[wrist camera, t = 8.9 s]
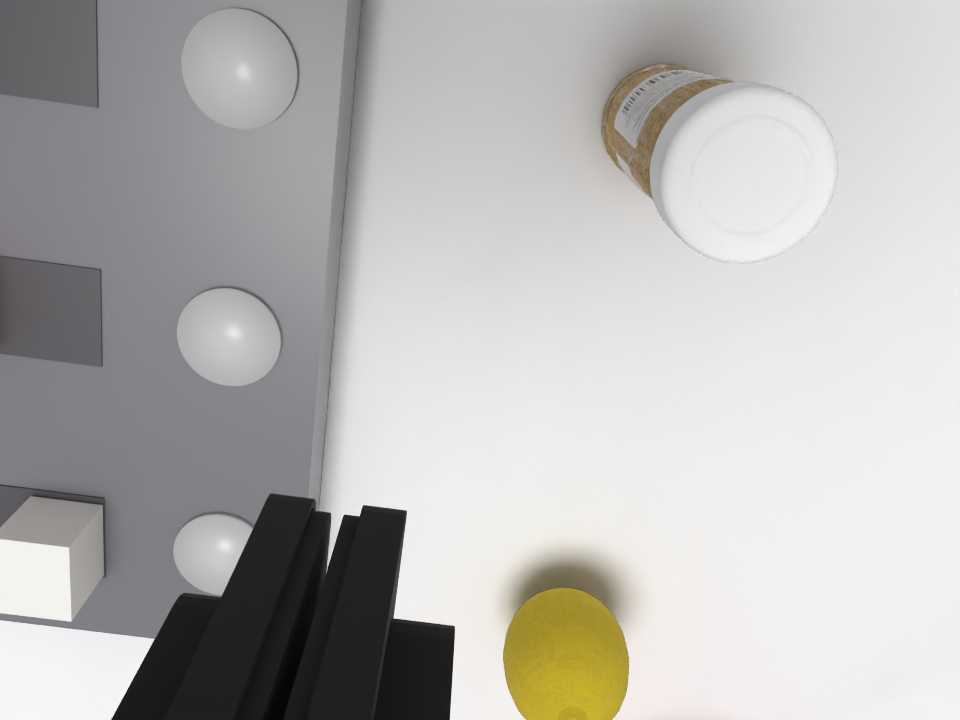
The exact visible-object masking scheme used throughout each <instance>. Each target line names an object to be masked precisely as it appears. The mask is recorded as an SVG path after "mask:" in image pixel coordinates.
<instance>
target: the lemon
mask: <svg viewBox="0 0 960 720" xmlns="http://www.w3.org/2000/svg"><path fill="white" fill-rule="evenodd" d="M503 661H504V669H505V677H506V682H507V685H508V688H509V691H510V694H511V696H512V698H513V700H514V702H515V704H516V706H517V708H518V710H519V712H520V713H521V714H522V716H523V717H524V718H525V719H526V720H612V719H613V718H614V717H615V715H616V714H617V713H618V711H619V710H620V707H621V705H622V702H623V700H624V698H625V695H626V691H627V685H628V674H629V657H628V651H627V647H626V643H625V638H624V635H623V632H622V630H621V628H620V626H619V624H618V623H617V621H616V619H615V617H614V616H613V614H612V613H611V611H610V610H609V609H608V608H607V607H606V606H605V605H603V604H602V603H601V602H600V601H599V600H598V599H597V598H595V597H593V596H591V595H589V594H588V593H586V592H584V591H580V590H577V589H573V588H555V589H549V590H546V591H543V592H541V593H538V594H536V595H535V596H533V597H532V598H530V599H529V600H527V601H526V602H525V603H524V604H523V605H522V606H521V608H520V609H519V610H518V611H517V612H516V614H515V615H514V617H513V619H512V621H511V623H510V625H509V628H508V630H507V634H506V639H505V645H504V651H503Z"/></svg>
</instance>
